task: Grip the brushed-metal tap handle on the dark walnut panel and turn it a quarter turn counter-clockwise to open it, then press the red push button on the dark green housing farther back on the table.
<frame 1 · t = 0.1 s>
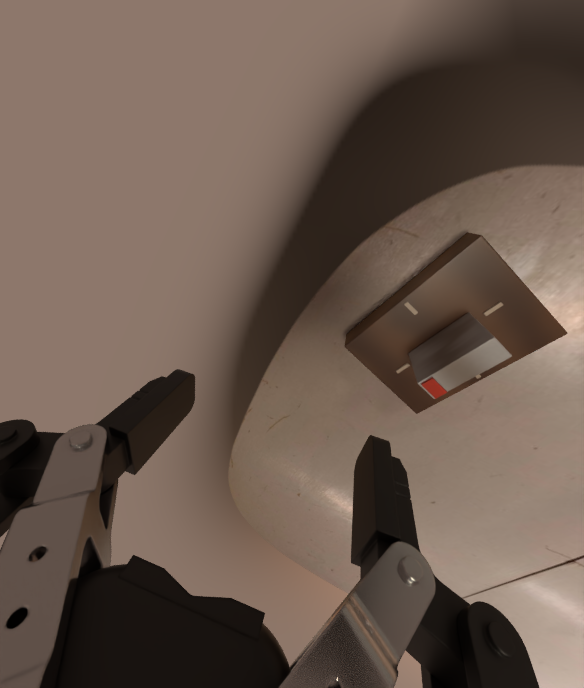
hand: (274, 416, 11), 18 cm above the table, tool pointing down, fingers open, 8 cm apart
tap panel: (435, 327, 26), on the table
tap handle: (452, 355, 21), point 6 cm above the table, hinge at 0.0°
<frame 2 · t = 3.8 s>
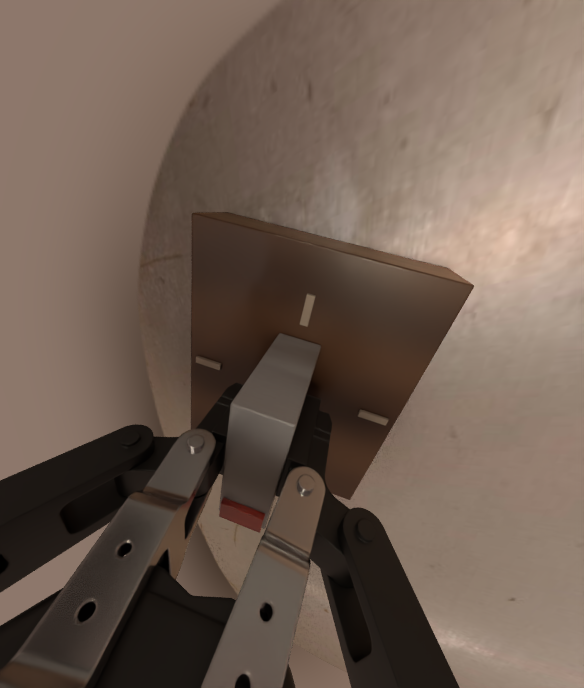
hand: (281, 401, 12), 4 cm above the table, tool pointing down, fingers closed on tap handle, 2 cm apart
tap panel: (300, 358, 16), on the table
tap handle: (271, 426, 11), point 6 cm above the table, hinge at 0.1°, touching gripper
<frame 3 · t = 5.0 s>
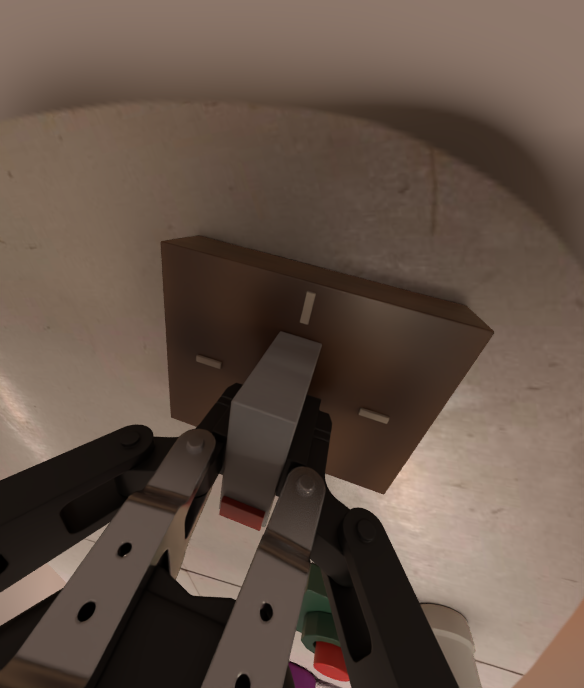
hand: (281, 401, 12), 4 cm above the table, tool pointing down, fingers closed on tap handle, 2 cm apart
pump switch: (336, 600, 29), on the table
bottle: (438, 613, 25), on the table
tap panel: (301, 357, 16), on the table
mug: (310, 675, 46), on the table
tap handle: (272, 424, 11), point 6 cm above the table, hinge at 89.6°, touching gripper
red push button: (332, 659, 25), point 4 cm above the table, slide at 0.1 cm
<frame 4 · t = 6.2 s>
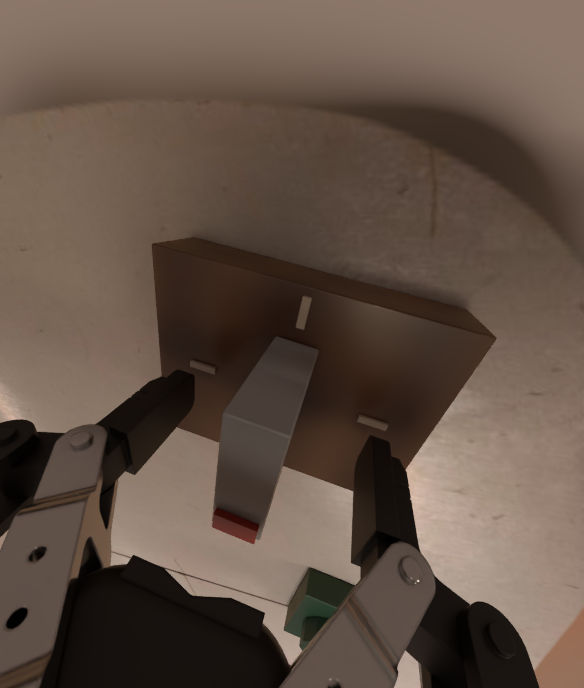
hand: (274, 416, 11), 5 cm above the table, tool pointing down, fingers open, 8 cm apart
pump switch: (335, 604, 29), on the table
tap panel: (298, 361, 15), on the table
tap handle: (267, 433, 10), point 6 cm above the table, hinge at 89.4°
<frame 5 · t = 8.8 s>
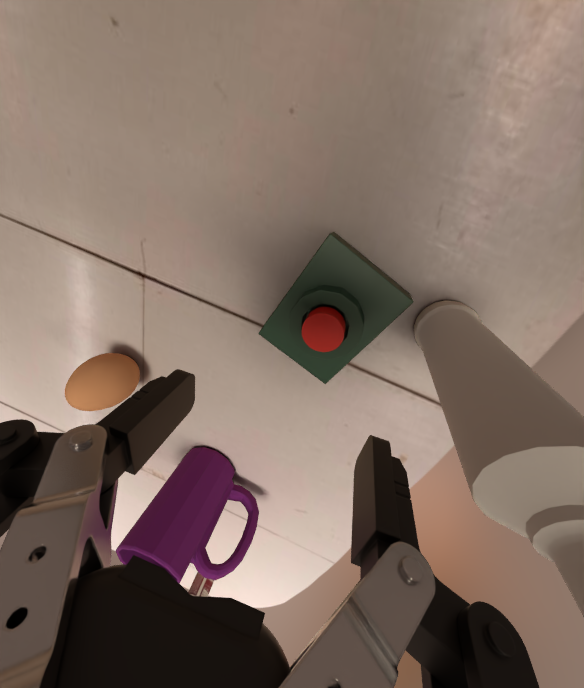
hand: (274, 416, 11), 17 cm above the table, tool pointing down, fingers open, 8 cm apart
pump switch: (330, 311, 26), on the table
bottle: (441, 324, 24), on the table
pill bottle: (209, 569, 67), on the table
egg: (133, 363, 37), on the table
mug: (228, 471, 44), on the table
red push button: (323, 329, 22), point 4 cm above the table, slide at 0.1 cm
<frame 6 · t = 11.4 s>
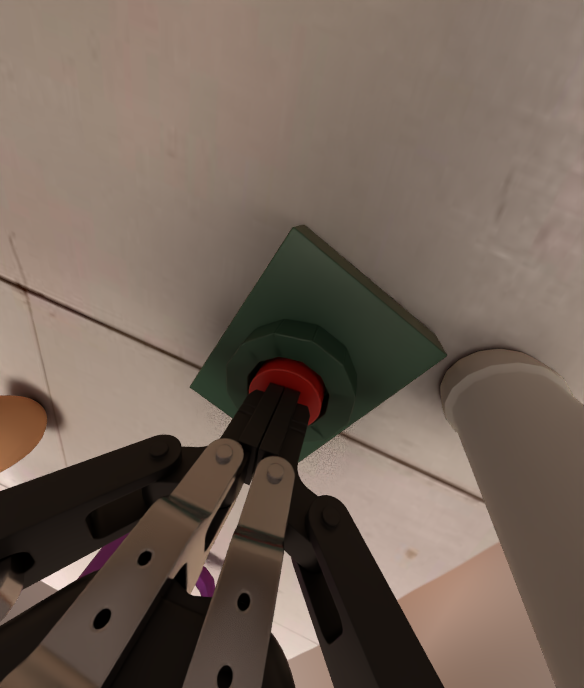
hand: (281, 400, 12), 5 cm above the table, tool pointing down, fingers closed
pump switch: (303, 355, 16), on the table
bottle: (487, 384, 14), on the table
egg: (41, 404, 27), on the table
mug: (181, 538, 34), on the table
red push button: (288, 390, 13), point 4 cm above the table, slide at -0.7 cm, touching gripper
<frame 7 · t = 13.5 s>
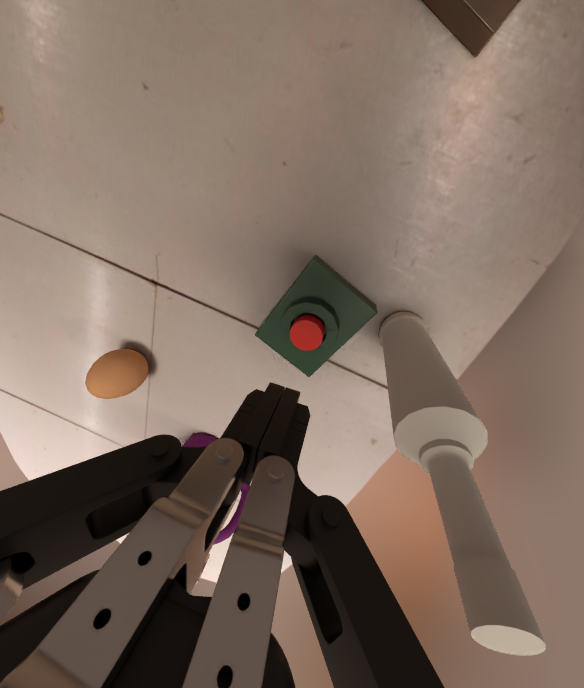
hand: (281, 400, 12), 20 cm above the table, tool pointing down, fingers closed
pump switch: (313, 317, 32), on the table
bottle: (401, 329, 30), on the table
egg: (141, 358, 42), on the table
mug: (224, 456, 49), on the table
red push button: (307, 332, 28), point 4 cm above the table, slide at 0.1 cm
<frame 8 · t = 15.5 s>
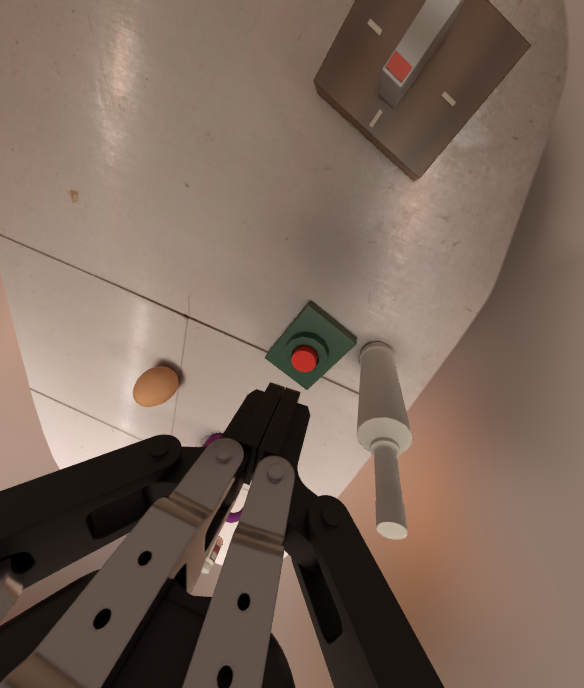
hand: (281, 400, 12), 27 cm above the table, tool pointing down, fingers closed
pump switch: (310, 344, 41), on the table
bottle: (376, 354, 39), on the table
pill bottle: (216, 537, 82), on the table
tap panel: (407, 79, 25), on the table
egg: (172, 372, 52), on the table
tap handle: (417, 47, 20), point 6 cm above the table, hinge at 89.4°
red push button: (304, 358, 37), point 4 cm above the table, slide at 0.1 cm
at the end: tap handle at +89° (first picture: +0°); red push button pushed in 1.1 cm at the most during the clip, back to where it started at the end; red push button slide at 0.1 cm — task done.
